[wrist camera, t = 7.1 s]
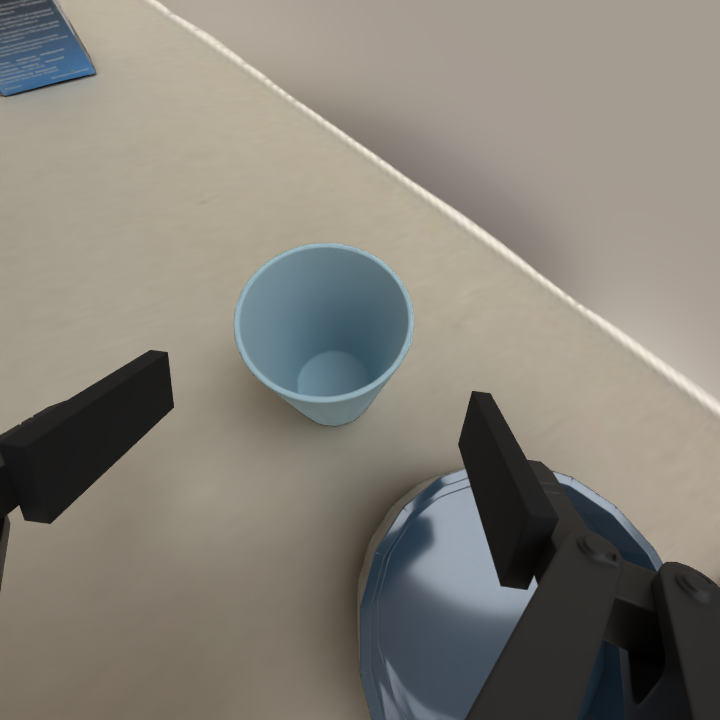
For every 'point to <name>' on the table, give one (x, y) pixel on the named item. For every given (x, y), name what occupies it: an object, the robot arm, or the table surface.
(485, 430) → the robot arm
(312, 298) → the cup
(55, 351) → the table surface
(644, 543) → the bowl
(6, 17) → the ink cartridge box
